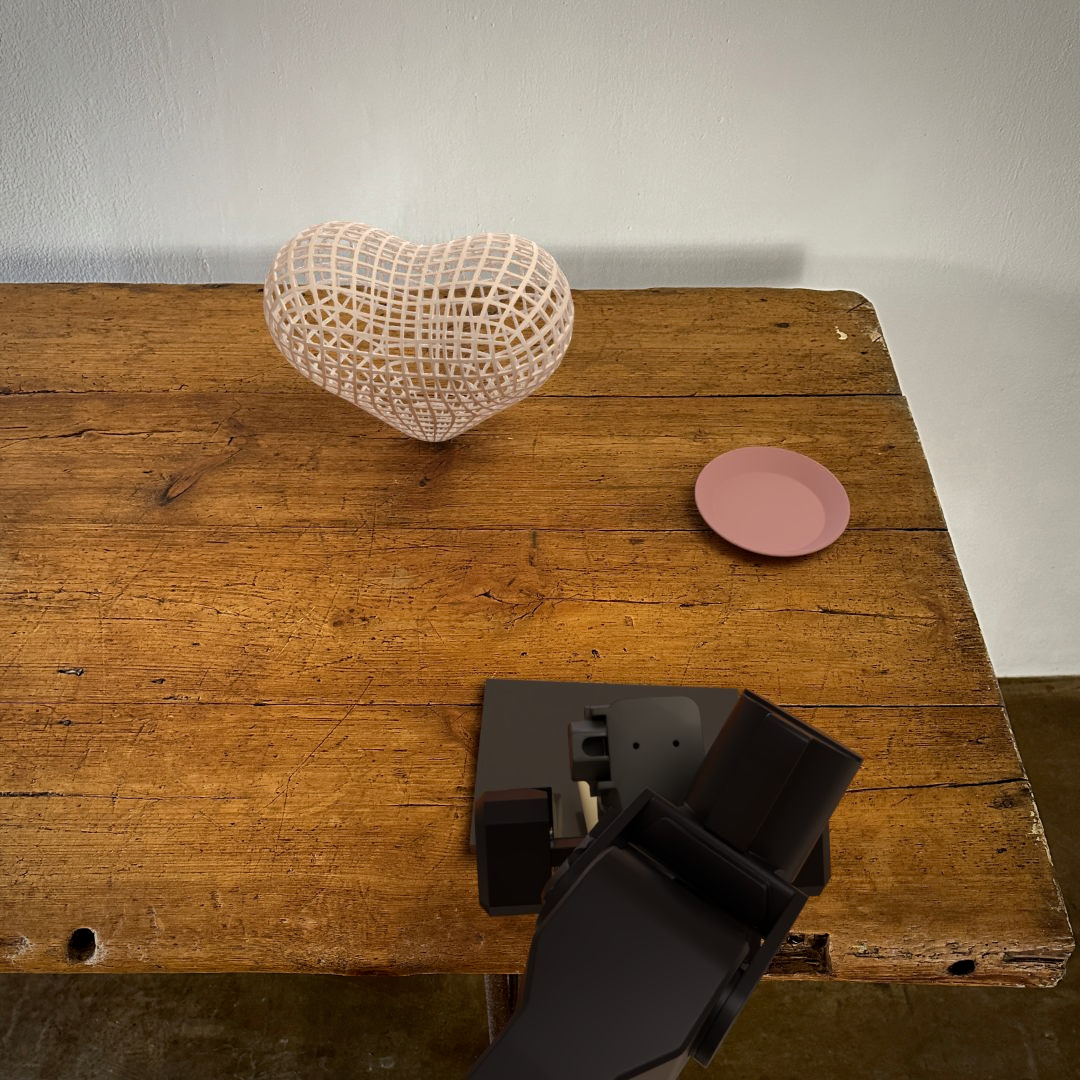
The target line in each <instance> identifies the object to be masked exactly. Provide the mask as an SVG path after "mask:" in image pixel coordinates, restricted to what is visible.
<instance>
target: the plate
mask: <svg viewBox="0 0 1080 1080" xmlns="http://www.w3.org/2000/svg"><path fill="white" fill-rule="evenodd" d="M694 499H695V504H696V508H697V510H698V512H699V514H700V516H701V517H702V519H703V520H704V521H705V523H706V524H707V525H708V526H709V528H710V529H711V530H713V531H714V532H715V533H716V534H717V535H718V536H720V537H721V538H723V539H724V540H726V541H727V542H729V543H730V544H732V545H734V546H736V547H739V548H741V549H743V550H746V551H749V552H752V553H756V554H760V555H764V556H771V557H783V558H784V557H785V558H786V557H799V556H805V555H809V554H813V553H816V552H819V551H820V550H823V549H825V548H827V547H828V546H830V545H832V544H834V542H836V541H837V540H838V539H839V538H840V537H841V536H842V534H843V533H844V531H845V530H846V528H847V526H848V524H849V521H850V516H851V504H850V498H849V497H848V494H847V491H846V490H845V488H844V486H843V484H842V482H841V481H840V480H839V479H838V478H837V477H836V476H835V475H834V474H833V472H831V471H830V470H829V469H828V468H826V466H823V465H822V464H820V463H819V462H818V461H816V460H814V459H812V458H810V457H808V456H807V455H803V454H801V453H800V452H796V451H793V450H790V449H784V448H780V447H773V446H747V447H746V446H745V447H741V448H736V449H733V450H730V451H729V450H728V451H727V452H724V453H722V454H720V455H718V456H717V457H714V458H713V459H712V460H711V461H709V463H707V464H706V465H705V466H704V467H703V469H702V470H701V472H700V473H699V474H698V476H697V479H696V482H695V486H694Z"/></svg>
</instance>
